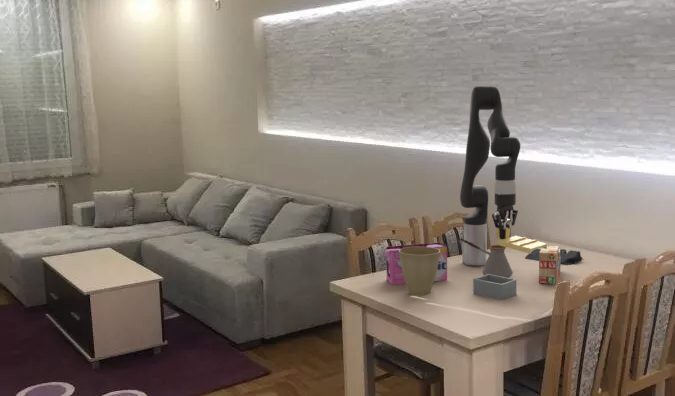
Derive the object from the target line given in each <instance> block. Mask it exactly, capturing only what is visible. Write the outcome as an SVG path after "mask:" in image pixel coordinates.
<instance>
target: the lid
mask: <svg viewBox="0 0 675 396" xmlns="http://www.w3.org/2000/svg"><path fill="white" fill-rule="evenodd" d="M505 229H506V238H505V239H500V237H499V228H496V235H495V237H496V239H498V243H497V245H500V246H504V247H506V248H508V249H512V250H515V251H518V252H521V253H522V252H523V253H526V254H531V252H532V251H533V250H535V249H542V248H545V249H547V246H548V243H545V242H542V241H538V240H537V239H530V238H527V236H523V237H522V236H520V235H519V236H518V235H512V236H511V235H510V228H507V227H506V228H505ZM509 236H510V237H509Z"/></svg>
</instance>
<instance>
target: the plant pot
mask: <svg viewBox="0 0 675 396" xmlns="http://www.w3.org/2000/svg"><path fill="white" fill-rule="evenodd" d="M399 256H400V262H401V267H402V272H403V276H404V279H405V282H406V284H405V285H406V288H407V291H408V293H409V294H410V295H411V294H412V295H415V296H416V295H421V296H423V295H428V294H430V293H431V291H432V288H433V285H434V282H435V281H434V279H435V276H436V272H437V268H438V263H439V257H440V250H439V249H437V248H432V247H420V246H417V247H405V248H402V249H400V250H399Z"/></svg>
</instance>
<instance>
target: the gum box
mask: <svg viewBox="0 0 675 396" xmlns="http://www.w3.org/2000/svg"><path fill="white" fill-rule="evenodd" d="M417 246H420V247H432V248H437V249H439V250H440V257H439V263H438V268H437V272H436V276H435V279H434V282H441V281H442V282H443V281H448V246H447V245H445V244H444V243H442V242H430V243H429V242H428V243H417V244H414V243H413V244H406V245H405V244H404V245H392V246H386V247H385V259H386V260H385V261H386V263H385V264H386V281H388V283H390V284H391V285H393V286H394V285H404V284H405V285H406V282H405V279H404V276H403V272H402V267H401V262H400V256H399V250H400V249H402V248H405V247H417Z"/></svg>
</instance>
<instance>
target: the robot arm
mask: <svg viewBox="0 0 675 396" xmlns="http://www.w3.org/2000/svg"><path fill="white" fill-rule="evenodd" d="M469 98H470V99H469V102H470V103H469V121H468V122H469V123H468V125H469V126H468V132H467V141H466V149H465V162H464V173H463V177H462V183H461V187H460V193H459V200H460V204H461V207H463V208H464V209H465V208H467V209H472V208H474V211H472V212H471V213H469V214H467V215H465V216H464V217H463V218H464V219H463V223H464V230H463V232H464V233H463V234H464V237H463V239H464V240H467V241H468V242H471V243H473V244H475V245H476V246H478V247H480V248H481V249H483V250H486V251H488V250H487V249H488V248H487V242H488V241H487V233H488V231H487V226H488V224H487V219H488V213H489V212H488V211H489V191H488V188H487V187H486V186H485V185H483V184H476V185H474V183H475V179H476V177H477V176H478V173H479V172H480V171H481V169H482V168H483V167H484V165H486V163H487V162H488V159H489V155H490V153H491V155H492V156H494V157H496V158H504V157H506V158H507V157H508V158H507V160H506V161H504V162H501V163H498V164H497V163H496V165H495V173H494V174H495V181H494V205H495V206H496V212H495V213H492V215H491V216H492V220H493V224H494V228H496V229H497V228H499V237H500V239H499V240H501V239H505V238H506V229H505V228H506V227H507V228H510V236H509V237H511V235H512V234H511V233H512V232H511V229H512V227H513V226H515V223H516V219H517V216H518V212H519V211H518V210H517V209H514V206H515V205H516V202H517V201H516V200H517V198H516V197H517V195H516V191H517V189H516V188H517V186H516V184H517V183H516V165H517V162H518V158H519V154H520V151H521V142H520V140H519V139H518V137H515V136H510V135H511V132H510V131H511V130H510V129H509V127H508V124H507V122H506V118H505V114H504V107H503V102H502V97H501V92H500V90H499V88H497V86H494V85H493V86H491V85H489V86H488V85H486V86H483V85H482V86H481V85H477V86H473V88H472V89H471V92H470V97H469ZM483 110H484V111H485V110H486V111H487V110H488V111H490V110H492V113H491V114H490V115H489V118H488V119H487V123H486V124H487V125H486V127H487V129H488V132H489V135H490V137H489V135H488V133H487V132H486V130H485V128H484V126H483V124H482V122H481V119H480V111H483ZM461 242H462V247H461V248H462V263H463V264H465V265H468V266H476V267H477V266H485V264H486V261H487V259H488V258H487V255H488V254H486V253H485V252H483V251H481V250H479V249H476V248H474V247H472V246H470V245H468V244H467V243H464V241H461Z"/></svg>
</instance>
